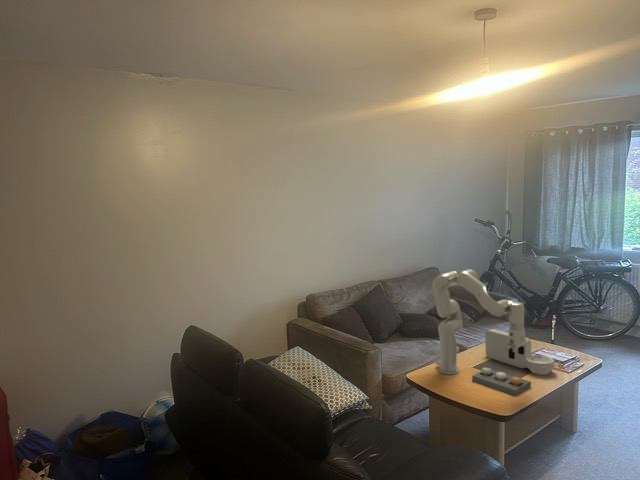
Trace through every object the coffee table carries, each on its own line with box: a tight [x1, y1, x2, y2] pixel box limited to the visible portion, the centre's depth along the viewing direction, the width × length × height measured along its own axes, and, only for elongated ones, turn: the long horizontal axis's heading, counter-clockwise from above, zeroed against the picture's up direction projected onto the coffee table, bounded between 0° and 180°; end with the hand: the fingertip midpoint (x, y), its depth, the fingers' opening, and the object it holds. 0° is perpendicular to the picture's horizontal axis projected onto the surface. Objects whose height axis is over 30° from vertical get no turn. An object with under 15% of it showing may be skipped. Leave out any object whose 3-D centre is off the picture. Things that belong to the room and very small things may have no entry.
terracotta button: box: [511, 376, 522, 385], centre depth 249 cm, size 5×5×2 cm
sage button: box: [481, 367, 492, 375], centre depth 263 cm, size 5×5×2 cm
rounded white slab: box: [484, 328, 532, 369], centre depth 287 cm, size 29×8×18 cm, turn 33°
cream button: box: [496, 371, 507, 380], centre depth 256 cm, size 5×5×2 cm
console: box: [471, 368, 532, 396], centre depth 256 cm, size 26×16×3 cm, turn 37°
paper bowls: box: [526, 354, 555, 376], centre depth 270 cm, size 15×15×8 cm
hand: (516, 356), depth 247 cm, fingers open, 9 cm apart
